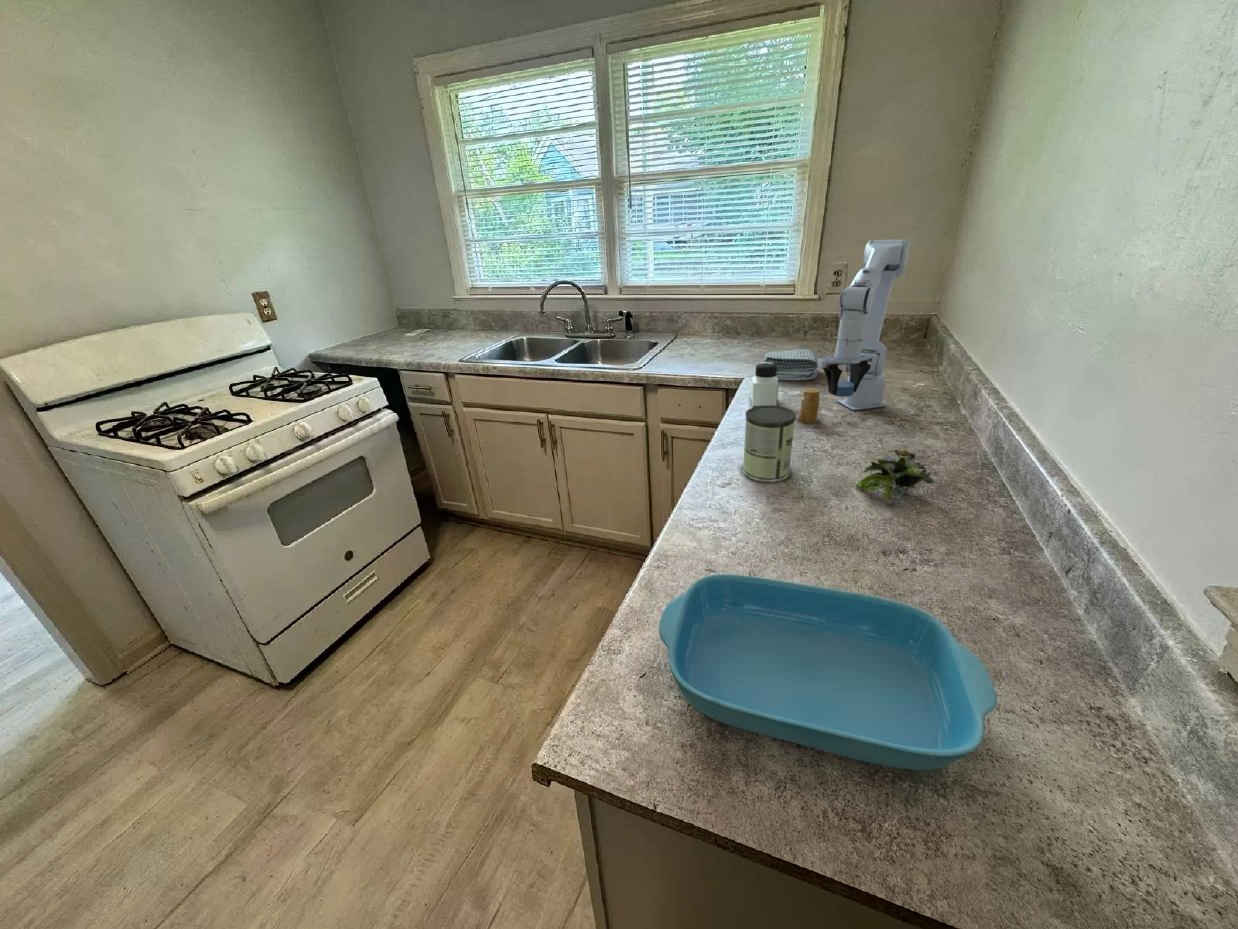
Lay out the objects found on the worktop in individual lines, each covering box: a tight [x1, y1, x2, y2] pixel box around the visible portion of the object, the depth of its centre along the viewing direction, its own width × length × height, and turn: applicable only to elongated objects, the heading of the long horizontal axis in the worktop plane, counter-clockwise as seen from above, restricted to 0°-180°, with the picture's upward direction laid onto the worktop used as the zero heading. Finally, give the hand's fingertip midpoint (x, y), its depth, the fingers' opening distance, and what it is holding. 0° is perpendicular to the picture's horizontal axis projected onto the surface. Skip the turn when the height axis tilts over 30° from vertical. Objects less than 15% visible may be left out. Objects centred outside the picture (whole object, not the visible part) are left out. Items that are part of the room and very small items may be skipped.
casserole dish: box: [658, 573, 998, 771], centre depth 60 cm, size 37×22×7 cm, turn 72°
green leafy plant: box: [856, 449, 935, 506], centre depth 98 cm, size 11×11×12 cm
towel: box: [761, 348, 819, 382], centre depth 171 cm, size 15×18×8 cm
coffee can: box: [742, 405, 797, 483], centre depth 108 cm, size 10×10×14 cm
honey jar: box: [798, 387, 821, 424], centre depth 134 cm, size 5×5×9 cm
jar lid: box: [834, 380, 854, 398], centre depth 125 cm, size 5×5×2 cm
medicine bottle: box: [750, 361, 779, 407], centre depth 147 cm, size 7×7×12 cm
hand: (842, 392), depth 126 cm, fingers closed on jar lid, 5 cm apart
